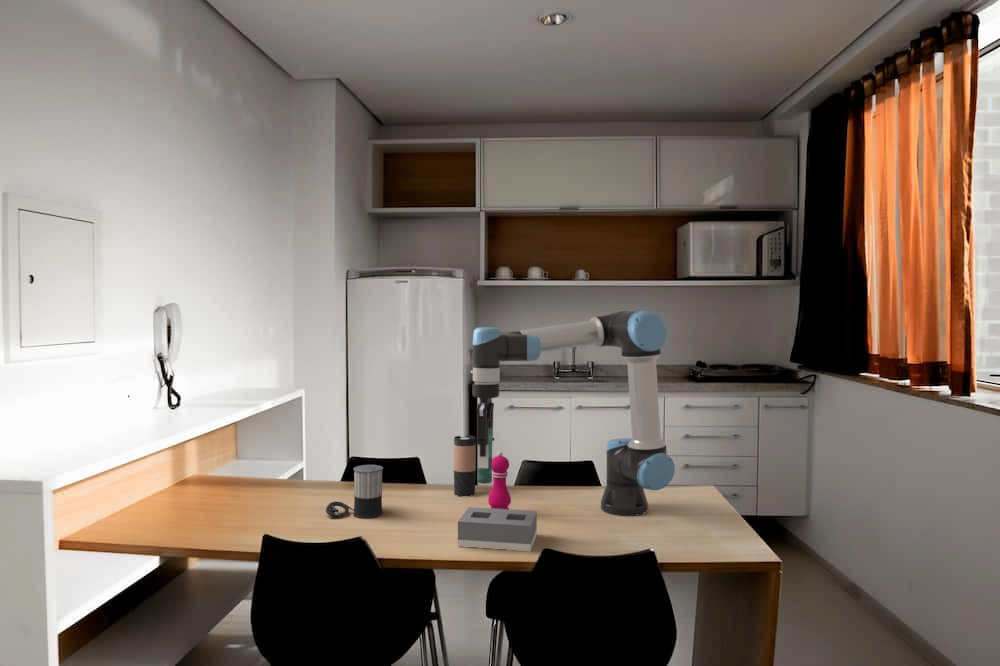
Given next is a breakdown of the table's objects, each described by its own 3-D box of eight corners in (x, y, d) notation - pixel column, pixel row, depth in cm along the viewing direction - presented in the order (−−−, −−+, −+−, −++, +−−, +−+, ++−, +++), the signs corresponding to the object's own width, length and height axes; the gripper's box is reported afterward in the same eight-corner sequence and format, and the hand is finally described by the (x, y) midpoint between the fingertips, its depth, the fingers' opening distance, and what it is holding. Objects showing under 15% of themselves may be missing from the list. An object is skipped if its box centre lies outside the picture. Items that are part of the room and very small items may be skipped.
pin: (492, 480, 198) (493, 427, 197) (490, 483, 194) (491, 430, 193) (478, 479, 198) (479, 427, 198) (476, 483, 194) (476, 429, 194)
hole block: (536, 535, 201) (536, 510, 201) (530, 551, 187) (530, 525, 187) (468, 530, 205) (468, 507, 204) (457, 546, 191) (457, 521, 191)
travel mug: (467, 498, 239) (467, 440, 239) (449, 494, 243) (449, 437, 243) (479, 493, 246) (480, 436, 245) (461, 490, 250) (462, 434, 249)
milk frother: (389, 514, 220) (389, 467, 220) (346, 525, 209) (346, 476, 208) (362, 505, 230) (362, 460, 230) (320, 515, 219) (320, 468, 218)
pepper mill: (508, 518, 217) (508, 454, 216) (485, 516, 218) (486, 453, 218) (512, 511, 224) (513, 449, 223) (490, 510, 226) (491, 448, 225)
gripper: (478, 379, 204) (477, 458, 205) (466, 385, 187) (465, 472, 188) (503, 380, 203) (502, 460, 204) (493, 386, 186) (492, 473, 187)
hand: (484, 465), depth 196 cm, fingers closed on pin, 4 cm apart
